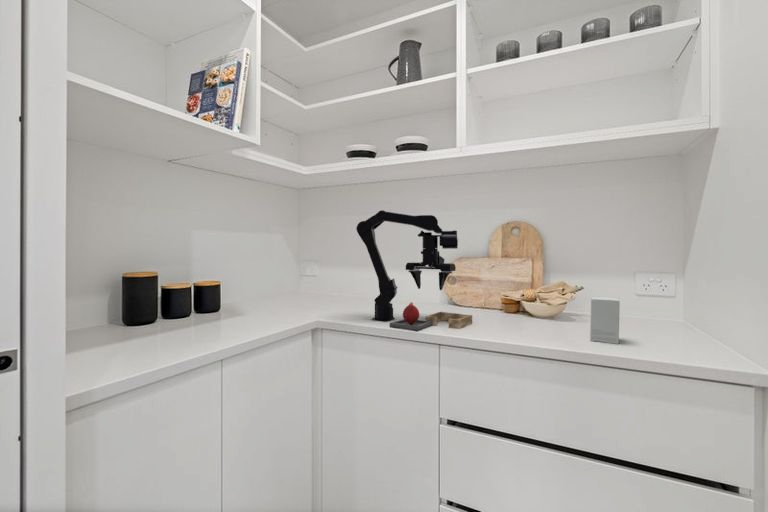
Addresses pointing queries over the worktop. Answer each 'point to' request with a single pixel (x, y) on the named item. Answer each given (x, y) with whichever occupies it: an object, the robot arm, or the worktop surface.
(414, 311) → the onion
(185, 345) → the worktop surface
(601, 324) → the supplement box
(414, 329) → the grey square tray
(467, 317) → the oak frame
